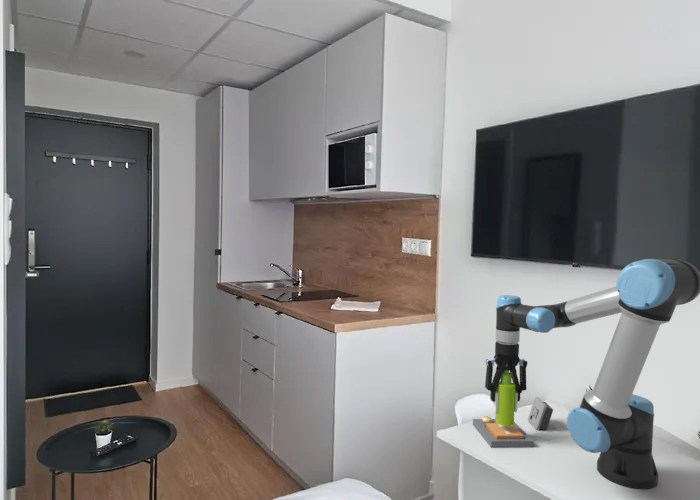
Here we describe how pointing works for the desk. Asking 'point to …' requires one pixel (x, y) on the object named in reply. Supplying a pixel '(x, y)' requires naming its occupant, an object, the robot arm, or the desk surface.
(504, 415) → the soap dispenser
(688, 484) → the desk surface
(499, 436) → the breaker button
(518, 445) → the grey tray
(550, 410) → the electrical switch
